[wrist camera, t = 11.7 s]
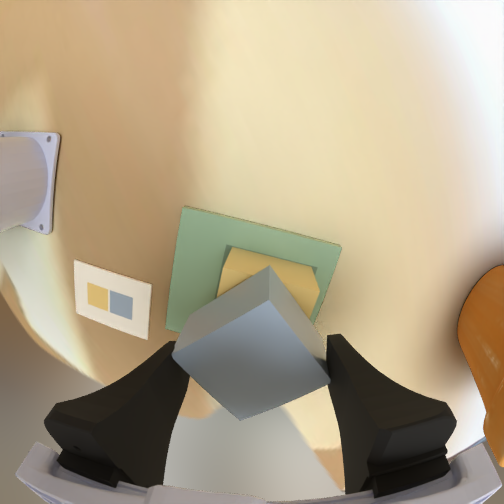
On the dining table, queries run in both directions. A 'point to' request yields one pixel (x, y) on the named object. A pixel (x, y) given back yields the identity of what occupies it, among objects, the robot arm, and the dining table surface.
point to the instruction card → (112, 299)
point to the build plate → (216, 253)
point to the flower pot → (487, 351)
